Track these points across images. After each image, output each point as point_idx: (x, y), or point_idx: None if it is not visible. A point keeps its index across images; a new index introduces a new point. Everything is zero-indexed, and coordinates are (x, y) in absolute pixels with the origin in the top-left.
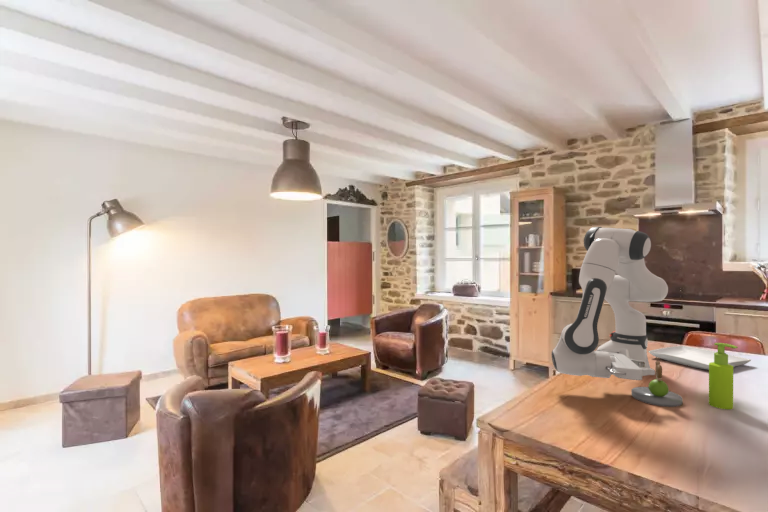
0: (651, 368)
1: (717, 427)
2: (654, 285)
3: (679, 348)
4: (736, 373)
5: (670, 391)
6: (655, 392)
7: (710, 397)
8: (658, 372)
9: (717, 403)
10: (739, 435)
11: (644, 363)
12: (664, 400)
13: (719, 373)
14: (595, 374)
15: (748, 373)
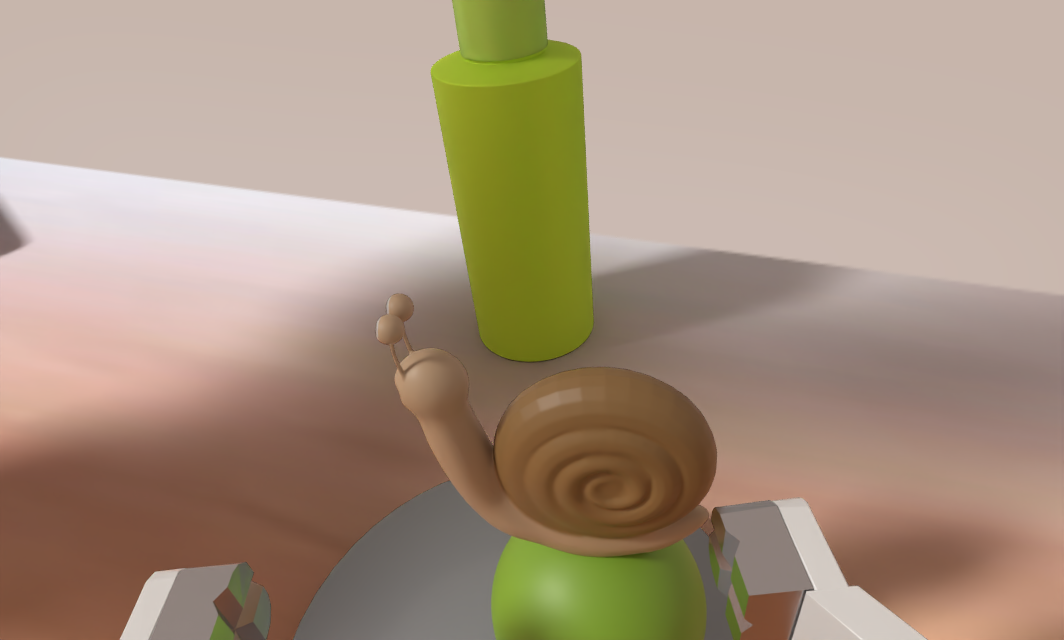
0: (722, 522)
1: (1010, 407)
2: None
3: None
4: (5, 206)
5: (397, 510)
6: None
7: (543, 318)
8: (709, 470)
9: (582, 319)
10: (1055, 346)
11: (249, 572)
12: (719, 620)
13: (578, 118)
14: None
15: (21, 183)
